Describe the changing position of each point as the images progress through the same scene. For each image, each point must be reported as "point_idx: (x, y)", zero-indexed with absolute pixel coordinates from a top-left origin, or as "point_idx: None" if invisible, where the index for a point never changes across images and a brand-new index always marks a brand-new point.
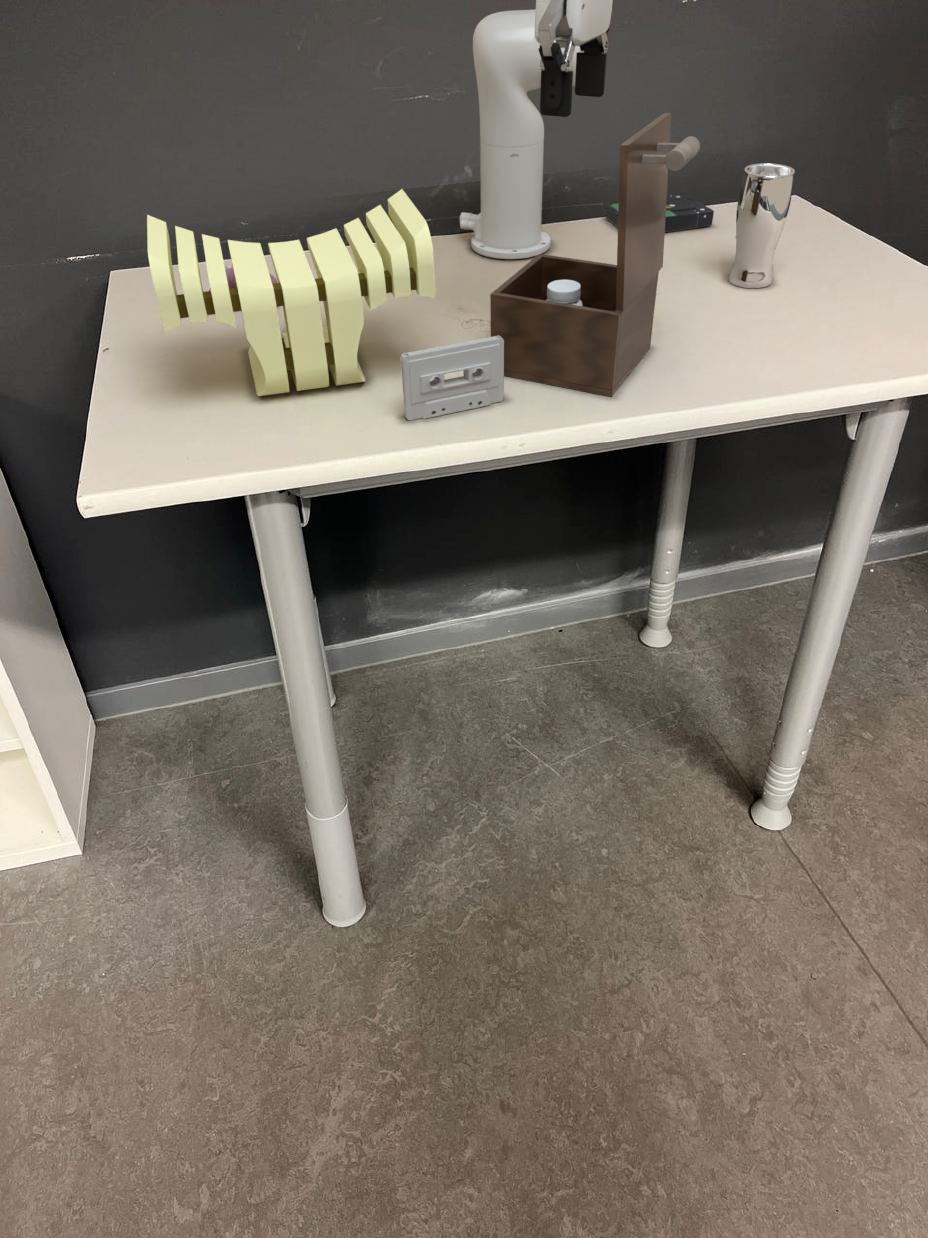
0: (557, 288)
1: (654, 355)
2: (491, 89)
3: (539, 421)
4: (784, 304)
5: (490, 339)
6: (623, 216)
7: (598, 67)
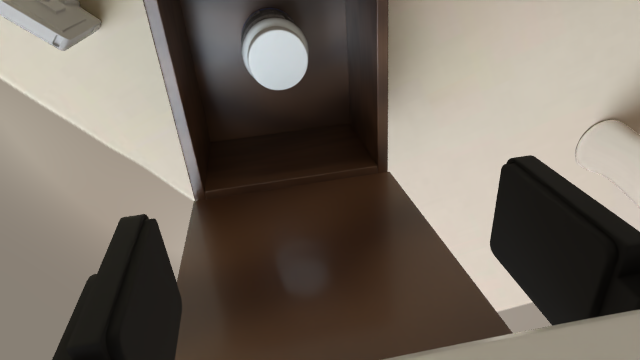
0: (260, 56)
1: None
2: None
3: (86, 103)
4: None
5: (38, 34)
6: None
7: (549, 303)
